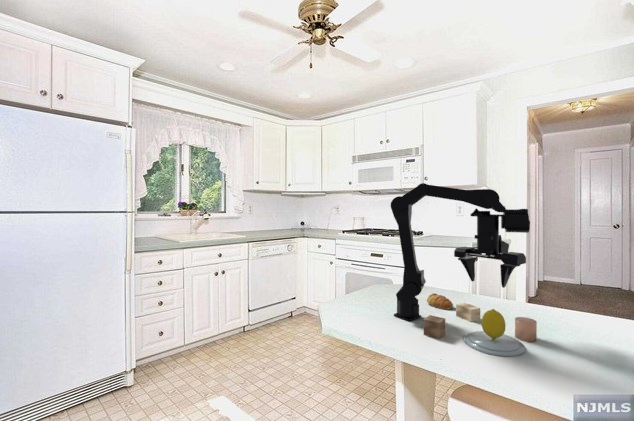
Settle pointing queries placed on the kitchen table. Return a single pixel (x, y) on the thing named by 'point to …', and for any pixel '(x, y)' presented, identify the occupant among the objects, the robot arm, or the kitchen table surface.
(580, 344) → the kitchen table surface
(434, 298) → the pastry
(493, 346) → the plate
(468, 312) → the beech block
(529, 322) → the pink cylinder
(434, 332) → the walnut block
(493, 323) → the lemon
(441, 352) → the kitchen table surface
